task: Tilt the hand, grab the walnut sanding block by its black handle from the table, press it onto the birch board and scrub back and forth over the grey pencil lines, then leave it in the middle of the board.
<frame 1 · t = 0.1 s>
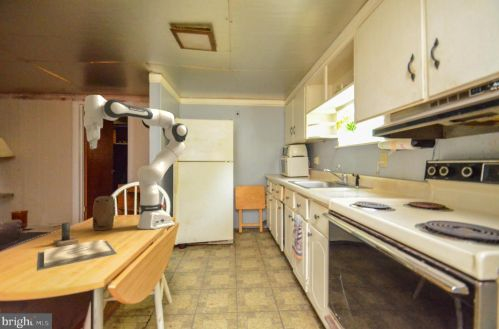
hand: (93, 148, 133), 48 cm above the table, tool pointing down, fingers open, 8 cm apart
board: (77, 253, 104), resting on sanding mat
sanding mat: (77, 254, 104), on the table
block: (103, 229, 145), on the table
sanding block: (65, 244, 117), on the table
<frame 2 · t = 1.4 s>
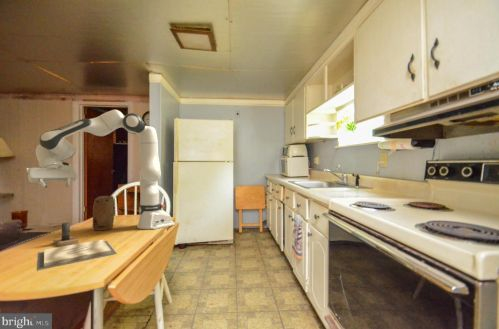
hand: (57, 186, 124), 28 cm above the table, tool tilted 45°, fingers open, 8 cm apart
nothing on the table moved.
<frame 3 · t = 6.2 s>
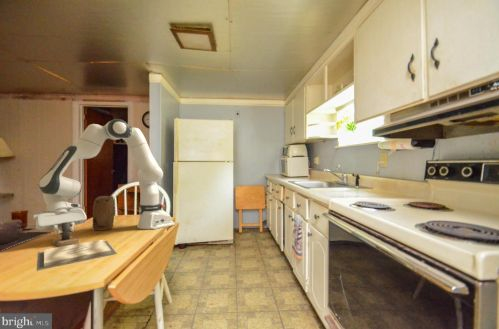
hand: (66, 232, 117), 6 cm above the table, tool tilted 45°, fingers closed on sanding block, 3 cm apart
sanding block: (65, 244, 117), on the table, touching gripper
everything else where it was.
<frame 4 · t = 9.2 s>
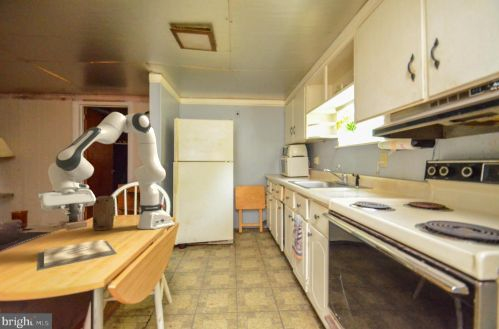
hand: (74, 214, 106), 17 cm above the table, tool tilted 45°, fingers closed on sanding block, 3 cm apart
sanding block: (73, 227, 106), point 11 cm above the table, touching gripper
everything else where it was.
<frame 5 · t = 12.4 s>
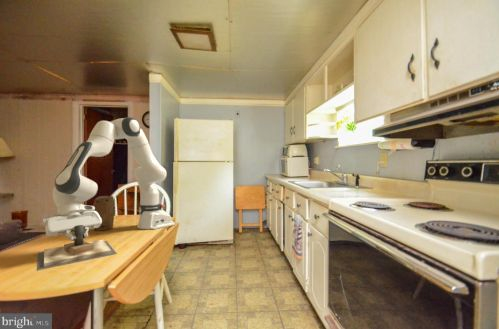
hand: (80, 238, 102), 7 cm above the table, tool tilted 45°, fingers closed on sanding block, 3 cm apart
sanding block: (78, 250, 103), point 2 cm above the table, touching gripper
everything else where it was.
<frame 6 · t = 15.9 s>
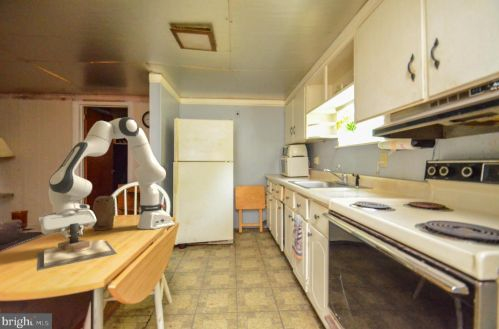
hand: (74, 236, 105), 7 cm above the table, tool tilted 45°, fingers closed on sanding block, 3 cm apart
sanding block: (74, 247, 106), point 2 cm above the table, touching gripper
everything else where it was.
when the fingers open (8 cm above the table, at t = 19.0 s): sanding block stays where it is, resting on board.
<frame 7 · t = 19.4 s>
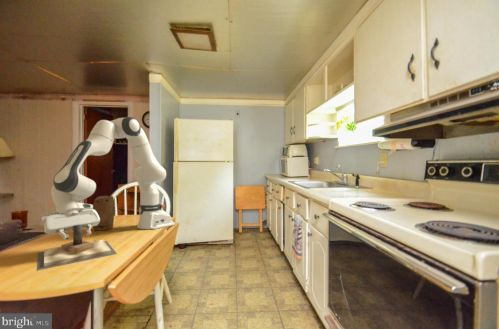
hand: (78, 236, 103), 8 cm above the table, tool tilted 45°, fingers open, 7 cm apart
sanding block: (77, 249, 104), point 2 cm above the table, touching board
everything else where it was.
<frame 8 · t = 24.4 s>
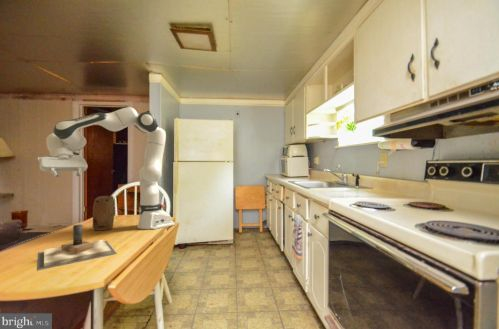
hand: (68, 175, 124), 33 cm above the table, tool tilted 45°, fingers open, 8 cm apart
nothing on the table moved.
at the end: sanding block inside the target area on the board (0.0 cm from its centre), point 1.6 cm above the board's base; sanding block tilted 0°; the gripper is holding nothing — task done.
